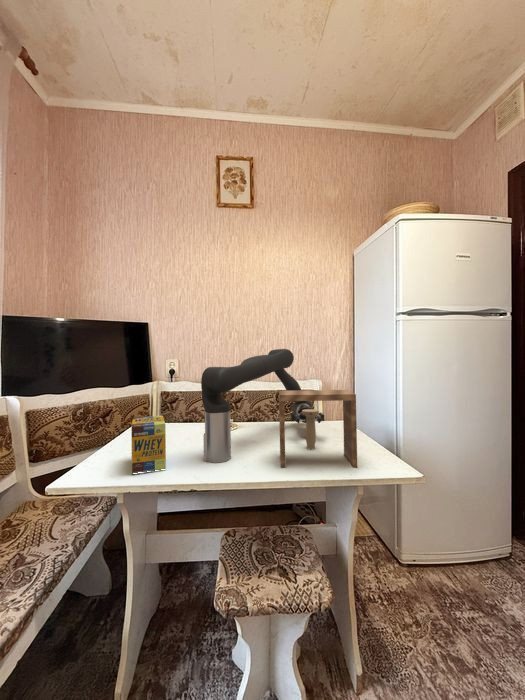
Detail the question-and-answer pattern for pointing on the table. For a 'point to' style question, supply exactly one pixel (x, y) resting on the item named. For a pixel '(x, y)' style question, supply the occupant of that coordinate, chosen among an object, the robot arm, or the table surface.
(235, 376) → the robot arm
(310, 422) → the handle
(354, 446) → the shelf
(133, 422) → the protein box
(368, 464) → the table surface
